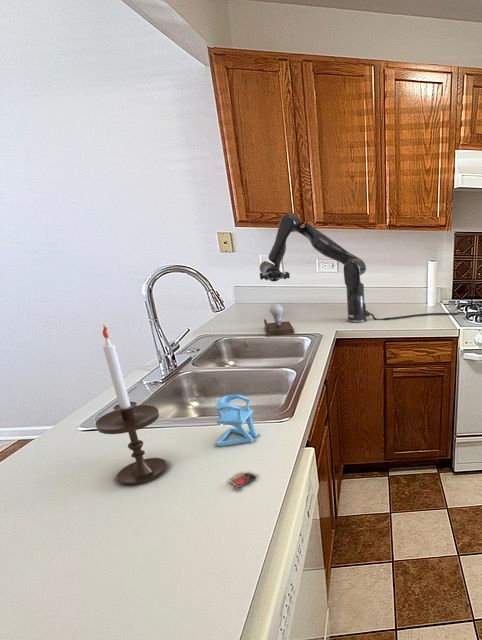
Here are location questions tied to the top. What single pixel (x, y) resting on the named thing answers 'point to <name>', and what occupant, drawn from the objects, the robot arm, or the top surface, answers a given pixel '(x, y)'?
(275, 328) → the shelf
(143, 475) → the candlestick
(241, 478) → the matchbox
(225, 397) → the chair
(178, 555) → the top surface
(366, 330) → the top surface
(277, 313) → the lightbulb
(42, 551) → the top surface
